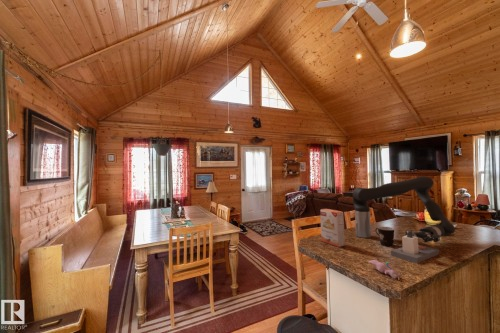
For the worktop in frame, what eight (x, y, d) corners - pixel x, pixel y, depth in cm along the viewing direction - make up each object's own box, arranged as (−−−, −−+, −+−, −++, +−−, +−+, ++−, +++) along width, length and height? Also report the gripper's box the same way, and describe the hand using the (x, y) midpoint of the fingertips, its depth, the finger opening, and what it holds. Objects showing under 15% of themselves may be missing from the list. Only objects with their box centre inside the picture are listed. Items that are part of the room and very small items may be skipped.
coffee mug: (398, 247, 128) (397, 230, 128) (381, 247, 129) (380, 230, 130) (389, 241, 139) (388, 225, 139) (374, 241, 141) (373, 225, 141)
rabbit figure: (405, 281, 92) (373, 263, 105) (407, 268, 91) (374, 251, 105) (395, 285, 89) (364, 265, 103) (397, 271, 89) (365, 253, 102)
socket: (417, 263, 106) (416, 256, 106) (391, 255, 116) (390, 249, 116) (438, 254, 116) (438, 247, 116) (413, 247, 127) (413, 242, 127)
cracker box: (320, 241, 143) (319, 209, 144) (327, 240, 146) (326, 208, 147) (338, 247, 131) (336, 212, 132) (345, 245, 134) (343, 211, 134)
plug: (414, 259, 111) (412, 233, 111) (403, 256, 115) (401, 231, 116) (418, 256, 113) (417, 231, 114) (407, 254, 118) (406, 229, 118)
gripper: (415, 224, 131) (400, 228, 124) (445, 229, 119) (431, 234, 111) (416, 237, 131) (401, 241, 123) (446, 243, 119) (431, 249, 111)
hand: (415, 238), depth 117 cm, fingers open, 8 cm apart
